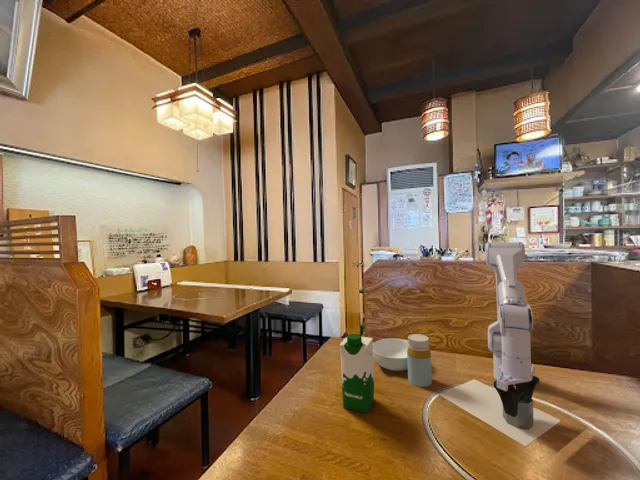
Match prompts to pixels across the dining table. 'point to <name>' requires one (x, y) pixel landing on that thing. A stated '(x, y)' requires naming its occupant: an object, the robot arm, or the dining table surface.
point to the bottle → (419, 360)
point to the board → (496, 411)
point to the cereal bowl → (391, 353)
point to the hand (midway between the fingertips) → (517, 409)
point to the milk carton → (357, 372)
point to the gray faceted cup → (522, 413)
